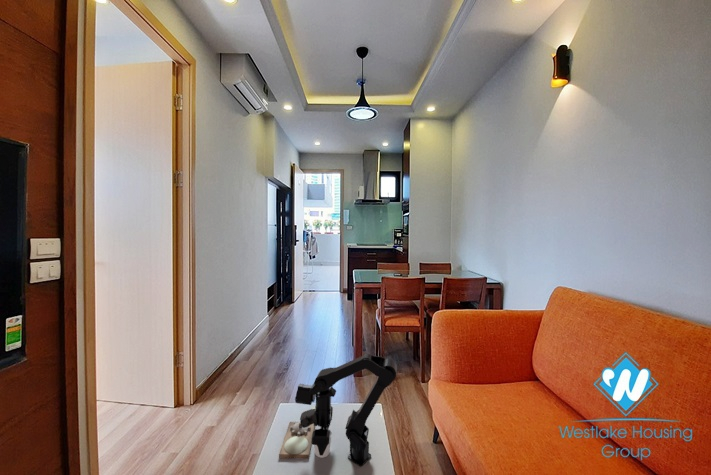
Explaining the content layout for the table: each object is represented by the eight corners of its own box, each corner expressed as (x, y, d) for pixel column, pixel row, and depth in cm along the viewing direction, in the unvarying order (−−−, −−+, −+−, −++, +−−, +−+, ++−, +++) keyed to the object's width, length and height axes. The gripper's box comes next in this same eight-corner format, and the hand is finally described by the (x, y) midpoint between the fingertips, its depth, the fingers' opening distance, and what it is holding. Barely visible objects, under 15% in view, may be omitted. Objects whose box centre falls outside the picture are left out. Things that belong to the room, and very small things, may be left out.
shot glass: (332, 446, 112) (333, 428, 112) (329, 459, 105) (329, 441, 105) (315, 444, 112) (315, 426, 112) (311, 458, 106) (311, 439, 106)
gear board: (315, 425, 123) (315, 417, 123) (308, 458, 105) (308, 448, 105) (289, 425, 123) (289, 416, 123) (278, 458, 105) (279, 448, 105)
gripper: (306, 391, 118) (305, 428, 118) (297, 421, 99) (296, 465, 99) (333, 391, 118) (332, 428, 118) (329, 421, 99) (328, 465, 99)
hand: (322, 445), depth 109 cm, fingers open, 9 cm apart
